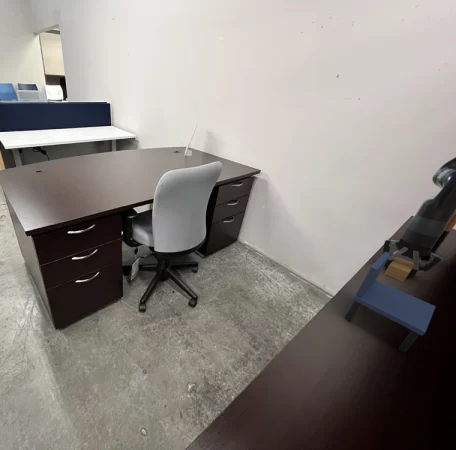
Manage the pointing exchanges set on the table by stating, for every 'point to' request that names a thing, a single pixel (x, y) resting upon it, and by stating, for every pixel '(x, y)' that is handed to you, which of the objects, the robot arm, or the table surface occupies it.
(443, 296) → the table surface
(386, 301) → the chair
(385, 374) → the table surface
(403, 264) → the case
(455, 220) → the battery
